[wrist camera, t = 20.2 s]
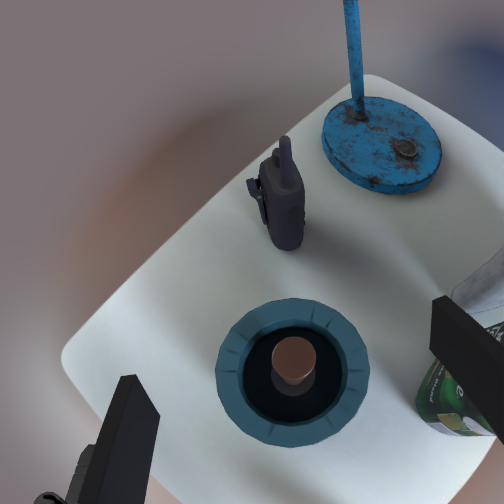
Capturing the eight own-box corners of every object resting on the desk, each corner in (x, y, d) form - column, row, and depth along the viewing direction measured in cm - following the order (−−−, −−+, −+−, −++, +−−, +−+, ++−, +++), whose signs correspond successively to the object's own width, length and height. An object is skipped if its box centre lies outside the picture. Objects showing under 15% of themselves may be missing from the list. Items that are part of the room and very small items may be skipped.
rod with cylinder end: (292, 402, 27) (292, 419, 10) (267, 378, 28) (231, 357, 12) (318, 377, 27) (355, 355, 11) (293, 354, 28) (294, 298, 12)
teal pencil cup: (290, 452, 25) (288, 476, 17) (215, 376, 29) (185, 368, 21) (369, 375, 27) (398, 367, 19) (293, 303, 31) (293, 269, 23)
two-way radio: (307, 249, 33) (313, 149, 20) (266, 261, 33) (246, 167, 20) (291, 206, 36) (286, 99, 22) (252, 217, 36) (227, 113, 22)
